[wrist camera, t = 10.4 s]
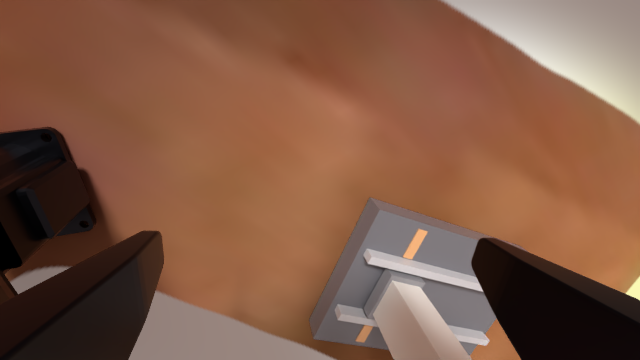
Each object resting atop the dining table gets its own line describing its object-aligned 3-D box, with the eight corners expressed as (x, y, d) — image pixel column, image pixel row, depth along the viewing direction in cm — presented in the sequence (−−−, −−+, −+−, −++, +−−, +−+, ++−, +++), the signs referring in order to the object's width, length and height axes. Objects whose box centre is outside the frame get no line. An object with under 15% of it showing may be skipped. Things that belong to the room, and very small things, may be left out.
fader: (363, 308, 25) (419, 436, 17) (386, 266, 24) (458, 382, 15) (395, 314, 26) (463, 438, 18) (418, 274, 25) (503, 387, 16)
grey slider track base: (309, 319, 27) (315, 350, 24) (369, 197, 24) (385, 216, 21) (453, 343, 32) (472, 370, 30) (520, 245, 29) (548, 266, 26)
